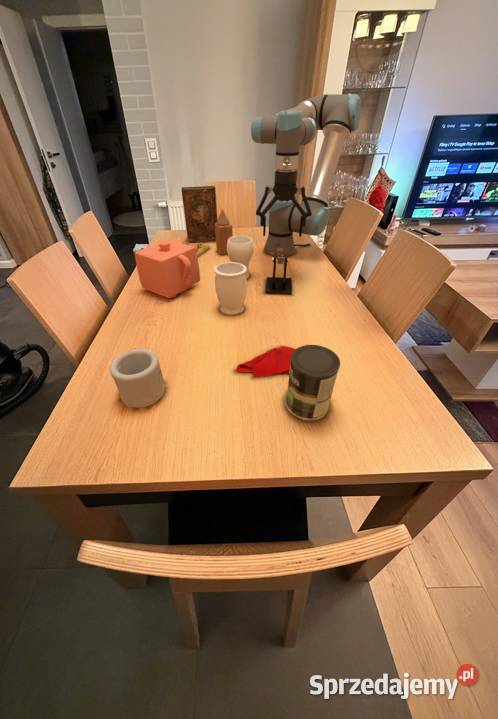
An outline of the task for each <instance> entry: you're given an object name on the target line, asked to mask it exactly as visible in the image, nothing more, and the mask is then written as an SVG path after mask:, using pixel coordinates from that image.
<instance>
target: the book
mask: <svg viewBox="0 0 498 719" xmlns="http://www.w3.org/2000/svg"><path fill="white" fill-rule="evenodd" d="M216 189H217V188H216V186H214V185H204V186H182V187H181V190H180V191H181V198H182V206H183V213H184V220H185V229H186V236H187V242H188V243H202V244H204V243H216V234H215V223H217V220H218V204H217V190H216Z"/></svg>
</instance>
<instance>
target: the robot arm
mask: <svg viewBox="0 0 498 719" xmlns="http://www.w3.org/2000/svg"><path fill="white" fill-rule="evenodd" d="M361 102H362V101H361V96H360V95H359V94H356V93H353V94H352V93H346V94H345V93H342V94H341V93H340V94H339V93H338V94H337V93H336V94H335V93H334V94H327V93H326V94H325V93H324V94H318V95H316V96H312V97H310V98H307V99H305V100H302V101H300V102H299V103H298V104H297V106H294V107H292V108H289V109H286V110H279V112H278V113H275V114H272V115H268V116H262V115H261V116H256V117H254V118H253V120H252V122H251V127H250V136H251V139H252V141H253V142H254V143H255V144H261V145H264V144H265V145H266V144H267V145H269V144H270V145H275V160H274V162H275V163H274V169H275V171H274V183H273V184H274V185H273V186H270V185H266V186H265V189H264V193H263V196H262V198H261V199H260V202H259V204H258V206H257V209H256V210H255V216H258V217H260V227H262V231H263V232H262V236H263V237H266V231H267V230H266V228H267V215H266V214H267V213H268V231H267V232H268V235H267V238H266V241H265V244H264V247H263V252H264V253H265V254H266V255H268V256H271V257H273V253H277V254H285V253H288V257H291V256H293V255H294V254H295V253H296V247H308V246H311V243H305V244H304V243H303V244H302V243H301V244H300V243H298V244H297V243H296V244H295V240H294V233H296V234H298V237H299V238H302V235H307V236H315V237H317V236H320V235H321V234H323V232H324V231H325V229H326V228H327V226H328V223H329V221H330V216H331V210H330V208H329V203H328V201H327V199H328V196H329V193H330V190H331V186H332V184H333V180H334V177H335V174H336V170H337V167H338V163H339V160H340V158H341V154H342V150H343V147H344V145H345V142H346V141H347V140H349V139H350V137H351V134H352V132H354V133H355V132H356V131H357V130H358V128H359V125H360V120H361V110H362V103H361ZM317 131H322V134H323V136H324V137H323V139H322V140H323V141H322V144H321V147H320V150H319V154H318V157H317V160H316V164H315V166H314V171H313V174H312V177H311V181H310V184H309V187H308V191H307V194H306V187H305V185H301V186H297V179H298V171H297V169H298V168H299V155H300V147H301V146H306V145H308V144H310V143H311V142H312V141H313V140H315V137H316V135H317ZM297 192H298V194H299V195H301V198H302V199H301V202H299V201H298V199H297V198H296V196H295V195H296V193H297ZM271 193H273V194H274V195H273V197H272V199H271V200H270V201H269V202H268V204H267V205H266V206H265V207H264V204H265V203H266V200H267V198H268V195H270V194H271ZM263 207H264V209H263V210H262V208H263Z"/></svg>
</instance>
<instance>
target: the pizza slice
mask: <svg viewBox="0 0 498 719" xmlns="http://www.w3.org/2000/svg"><path fill="white" fill-rule="evenodd" d="M185 244H186V245H190V246H191V244H194V245H196V246H197V247H198V248H199V249H198V251H197V258H199V257H200V256H201V255H202V254H204V253H205V252H207V251H209V249H210V245H209V244H208V243H189V242H188V243H185Z"/></svg>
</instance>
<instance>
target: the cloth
mask: <svg viewBox="0 0 498 719" xmlns="http://www.w3.org/2000/svg"><path fill="white" fill-rule="evenodd" d="M295 349H296V348H293V347H290V346H287V345H281V346H279V347H274V348H272V349H270V350H268V351H265V352H264V353H262V354H259V355H257V356H255V357H254V358H252V359H251V360H248V361H244V362H243V363H239V364H238V365H236V368H235V372H237V373H252V375H253V378H261V377H270V376H273V375H277V374H278V375H279V374H287V375H289V373H290V364H291V354H292V353H293V351H294V350H295Z"/></svg>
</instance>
